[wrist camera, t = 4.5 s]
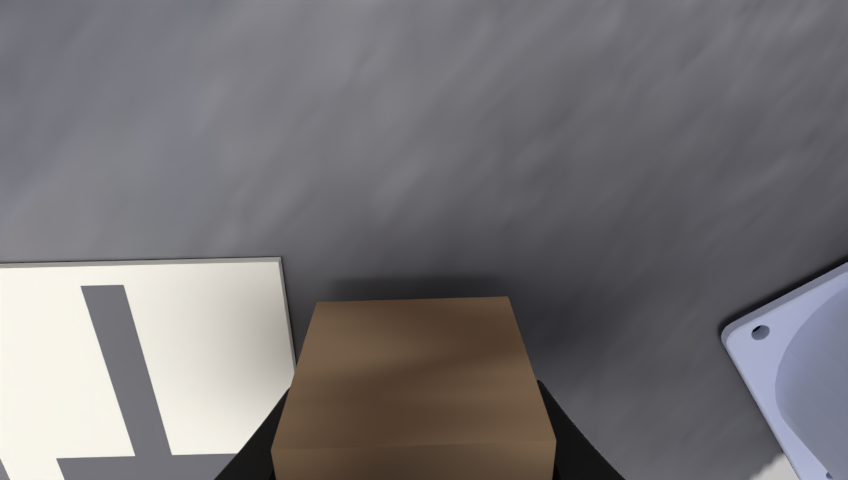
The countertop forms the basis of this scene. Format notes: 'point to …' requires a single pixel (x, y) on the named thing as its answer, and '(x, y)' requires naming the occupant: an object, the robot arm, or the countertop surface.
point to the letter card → (138, 365)
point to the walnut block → (414, 395)
